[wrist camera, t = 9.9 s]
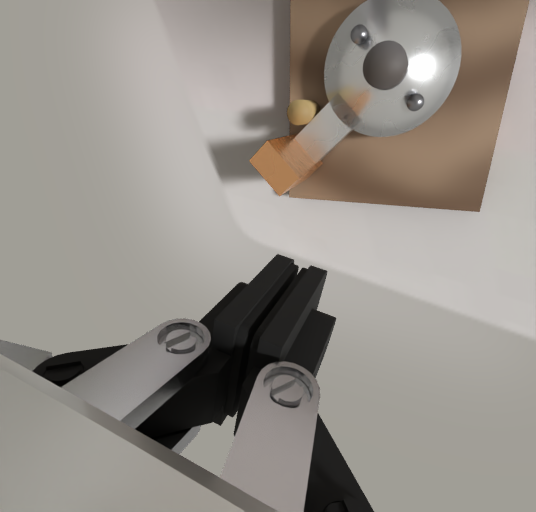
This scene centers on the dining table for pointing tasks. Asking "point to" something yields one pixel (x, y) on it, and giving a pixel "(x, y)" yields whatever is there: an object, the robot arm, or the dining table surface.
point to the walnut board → (423, 136)
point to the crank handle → (364, 95)
